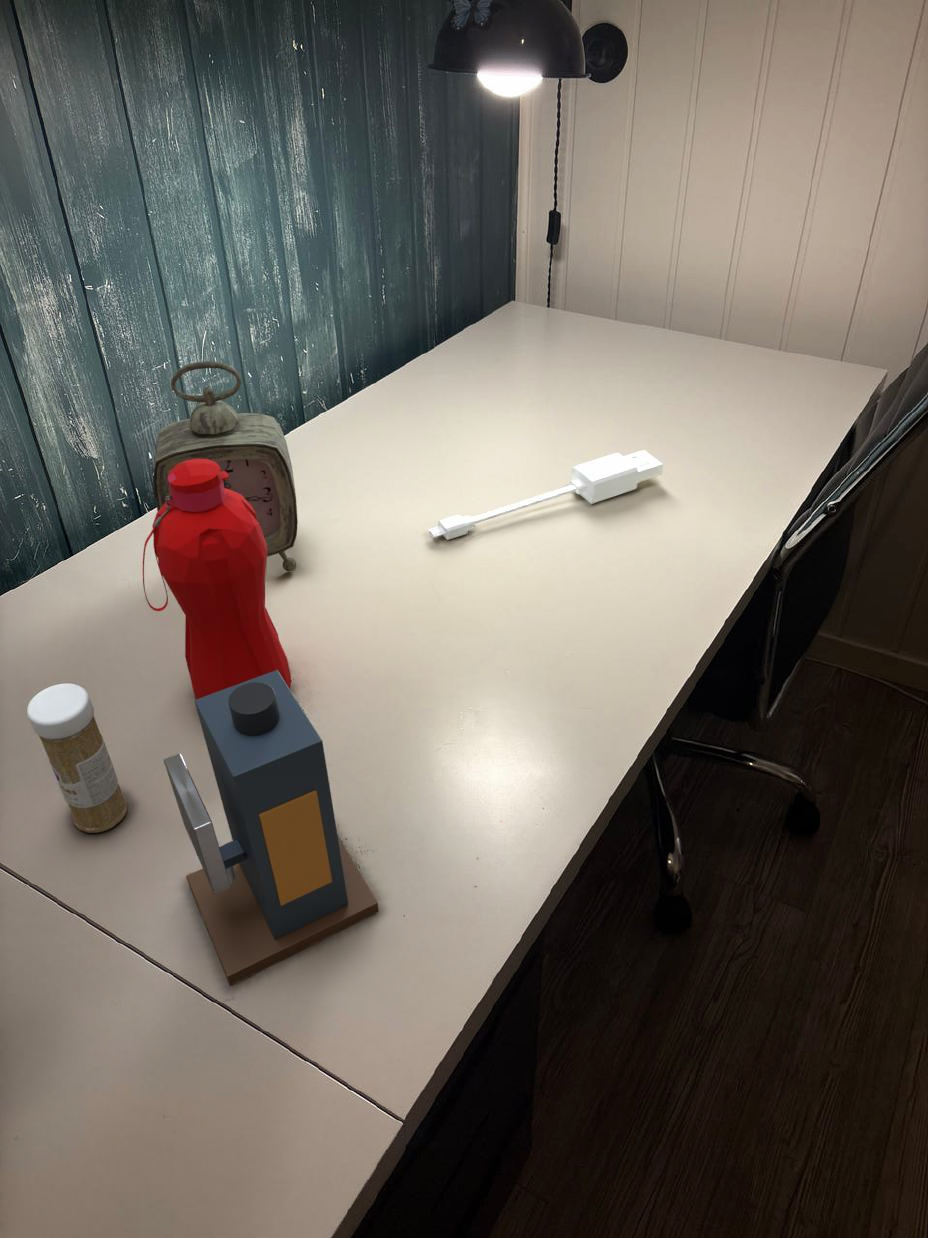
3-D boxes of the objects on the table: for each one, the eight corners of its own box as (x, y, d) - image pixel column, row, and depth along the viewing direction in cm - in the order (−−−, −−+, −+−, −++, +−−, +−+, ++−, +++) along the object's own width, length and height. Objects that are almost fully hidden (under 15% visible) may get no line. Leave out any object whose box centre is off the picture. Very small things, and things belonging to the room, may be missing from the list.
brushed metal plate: (214, 895, 62) (193, 830, 58) (184, 824, 67) (162, 759, 63) (231, 887, 63) (212, 822, 58) (199, 818, 68) (180, 752, 63)
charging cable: (423, 535, 114) (421, 512, 111) (640, 465, 124) (642, 442, 122) (441, 555, 110) (439, 532, 108) (663, 481, 120) (665, 459, 118)
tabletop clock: (179, 595, 103) (124, 386, 88) (181, 550, 110) (131, 350, 95) (308, 577, 105) (277, 371, 90) (302, 535, 112) (272, 337, 97)
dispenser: (230, 985, 66) (166, 792, 53) (188, 884, 73) (123, 690, 60) (379, 911, 71) (354, 716, 58) (327, 823, 78) (295, 630, 64)
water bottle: (171, 679, 92) (107, 458, 77) (279, 651, 95) (238, 433, 80) (185, 741, 86) (118, 512, 70) (300, 709, 89) (260, 483, 73)
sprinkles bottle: (63, 817, 79) (13, 704, 70) (109, 785, 81) (66, 673, 73) (94, 844, 76) (46, 731, 68) (140, 810, 79) (99, 697, 71)
